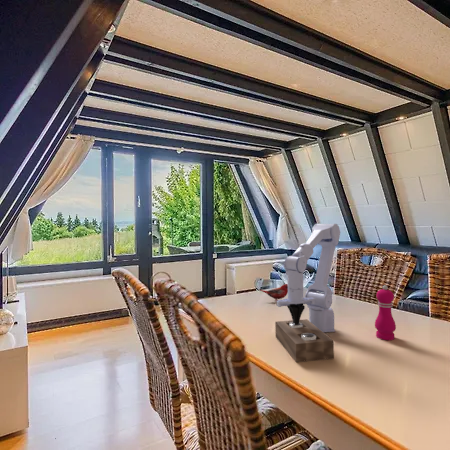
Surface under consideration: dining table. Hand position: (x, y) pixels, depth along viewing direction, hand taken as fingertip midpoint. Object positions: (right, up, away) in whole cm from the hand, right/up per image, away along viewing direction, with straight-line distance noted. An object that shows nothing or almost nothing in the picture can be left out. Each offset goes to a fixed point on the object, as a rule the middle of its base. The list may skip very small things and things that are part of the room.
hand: (295, 323), depth 124 cm
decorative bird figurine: (0, -5, +54) cm, 54 cm away
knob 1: (0, -6, 0) cm, 6 cm away
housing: (+1, -7, -6) cm, 9 cm away
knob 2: (+2, -7, -12) cm, 13 cm away
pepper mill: (+34, -6, +1) cm, 35 cm away
